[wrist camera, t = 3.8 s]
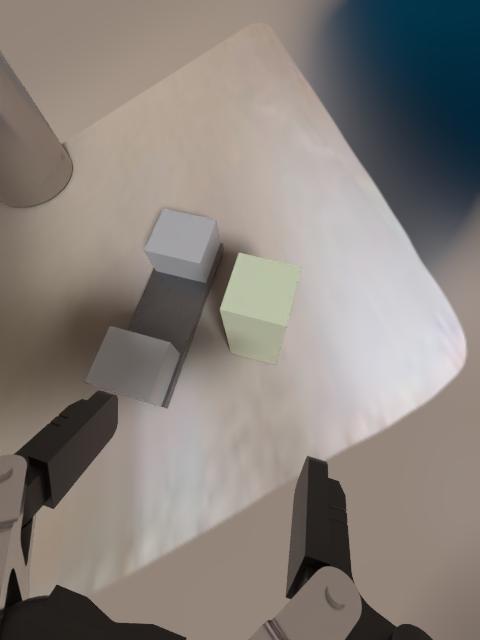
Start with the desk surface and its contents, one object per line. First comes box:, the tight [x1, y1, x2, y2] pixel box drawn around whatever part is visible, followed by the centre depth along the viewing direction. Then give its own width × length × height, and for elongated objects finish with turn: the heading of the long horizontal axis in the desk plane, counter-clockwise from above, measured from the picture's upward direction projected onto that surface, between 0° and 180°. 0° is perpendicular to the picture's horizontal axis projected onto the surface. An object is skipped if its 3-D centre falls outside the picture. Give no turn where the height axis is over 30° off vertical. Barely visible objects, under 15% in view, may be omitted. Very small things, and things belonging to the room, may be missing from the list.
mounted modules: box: [84, 208, 220, 406], centre depth 27 cm, size 5×16×4 cm, turn 164°
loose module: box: [220, 253, 301, 365], centre depth 24 cm, size 4×4×10 cm
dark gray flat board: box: [115, 243, 224, 408], centre depth 29 cm, size 6×16×1 cm, turn 164°
